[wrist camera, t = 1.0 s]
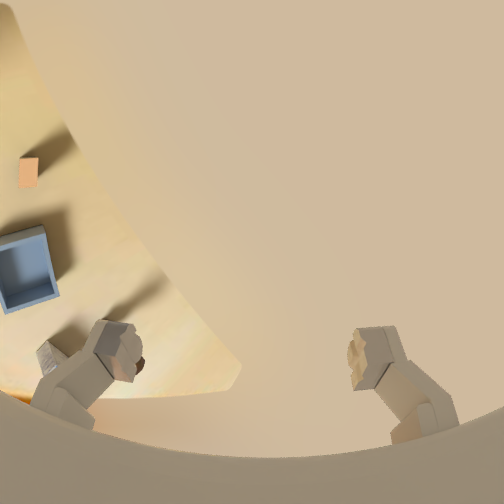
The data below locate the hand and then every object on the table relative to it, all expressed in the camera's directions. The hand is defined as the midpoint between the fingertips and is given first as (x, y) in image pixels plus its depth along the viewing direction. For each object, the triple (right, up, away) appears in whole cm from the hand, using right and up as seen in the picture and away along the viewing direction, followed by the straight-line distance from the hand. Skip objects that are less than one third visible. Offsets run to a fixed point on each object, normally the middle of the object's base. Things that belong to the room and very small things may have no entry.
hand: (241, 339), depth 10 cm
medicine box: (-42, -19, +37) cm, 59 cm away
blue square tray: (-40, +1, +28) cm, 49 cm away
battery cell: (-37, +17, +24) cm, 47 cm away
